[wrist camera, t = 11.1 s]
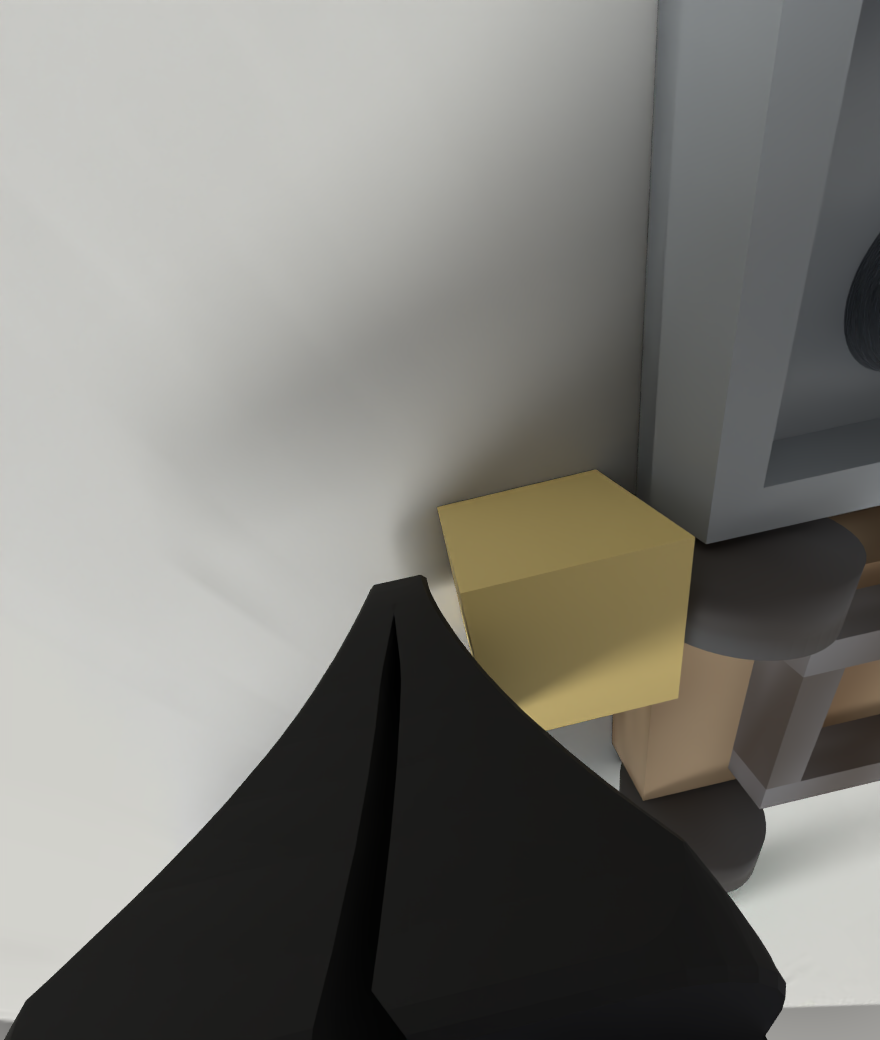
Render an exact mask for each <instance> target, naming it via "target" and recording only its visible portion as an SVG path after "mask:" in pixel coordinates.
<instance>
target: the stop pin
mask: <svg viewBox="0 0 880 1040" xmlns="http://www.w3.org/2000/svg"><path fill="white" fill-rule="evenodd" d="M844 334H845V339H846V343H847V346H848V349H849V351H850V353H851V354H852V356H853V357H854V359H855V360H856V361H857V362H858V363H859V364H861V365H862V366H864V367H865V368H868V369H870V370H873V371H878V372H880V233H879V235H878V236H877V237H876V239H875V240H874V242H873V243H872V244H871V246H870V248H869V249H868V251H867V253H866V254H865V256H864V258H863V259H862V261H861V264H860V266H859V268H858V270H857V272H856V274H855V276H854V279H853V281H852V284H851V287H850V290H849V294H848V297H847V301H846V307H845V313H844Z"/></svg>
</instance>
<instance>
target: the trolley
mask: <svg viewBox="0 0 880 1040" xmlns="http://www.w3.org/2000/svg"><path fill="white" fill-rule="evenodd" d="M650 507H651V506H650ZM653 509H654V508H653ZM656 511H657V510H656ZM672 522H673V521H672ZM675 524H676V523H675ZM678 526H679V525H678ZM612 744H613V746H614V748H615V749H616V751H617V753H618V755H619V757H620V759H621V761H622V764H621V769H620V789H619V792H621V793H622V794H623V795H625V796H626V797H627V798H629V799H630V800H631V801H632V802H634V803H635V804H636V805H638V806H639V807H640V808H642V809H643V810H645V811H646V812H647V813H649V814H650V815H651V816H653V817H654V818H656V819H657V820H658V821H660V822H661V823H663V824H664V825H665V826H667V827H668V828H669V829H671V830H672V831H674V832H675V833H676V834H678V835H679V836H680V837H681V838H683V839H684V840H685V841H686V842H687V844H688V845H689V846H690V847H691V848H692V850H693V851H694V852H695V853H696V854H697V856H698V857H699V858H700V859H701V860H702V862H703V863H704V864H705V865H706V867H707V868H708V869H709V870H710V872H711V873H712V874H713V875H714V877H715V878H716V879H717V880H718V882H719V883H720V884H721V886H722V887H723V888H724V890H725V891H726V892H730V891H733V890H736V889H737V888H739V887H741V886H742V885H743V884H744V883H745V882H746V881H747V880H748V879H749V877H750V876H751V874H752V872H753V870H754V867H755V864H756V862H757V859H758V856H759V853H760V851H761V848H762V845H763V842H764V840H765V834H766V821H765V815H764V811H763V808H767V807H771V806H775V805H779V804H784V803H788V802H792V801H796V800H800V799H804V798H809V797H813V796H817V795H821V794H825V793H830V792H834V791H838V790H842V789H846V788H850V787H855V786H859V785H863V784H867V783H871V782H876V781H880V506H877V507H872V508H868V509H863V510H859V511H854V512H850V513H846V514H841V515H837V516H832V517H828V518H827V517H825V518H821V519H817V520H812V521H808V522H803V523H799V524H794V525H790V526H785V527H781V528H776V529H772V530H767V531H763V532H759V533H754V534H750V535H745V536H741V537H736V538H732V539H727V540H723V541H718V542H714V543H710V544H705V543H703V542H702V541H701V540H699V539H698V538H696V537H695V544H694V553H693V562H692V572H691V581H690V591H689V600H688V609H687V619H686V628H685V638H684V647H683V657H682V666H681V675H680V685H679V694H678V698H677V699H673V700H669V701H665V702H661V703H657V704H653V705H649V706H645V707H641V708H637V709H632V710H628V711H624V712H620V713H616V714H613V723H612Z"/></svg>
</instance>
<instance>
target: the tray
mask: <svg viewBox="0 0 880 1040" xmlns="http://www.w3.org/2000/svg"><path fill="white" fill-rule="evenodd" d="M879 233H880V0H658V20H657V42H656V64H655V87H654V109H653V131H652V153H651V176H650V198H649V220H648V242H647V265H646V287H645V309H644V332H643V354H642V376H641V398H640V421H639V443H638V465H637V487H636V497H638V498H639V499H640V500H642V501H643V502H645V503H646V504H648V505H649V506H651V507H652V508H654V509H655V510H657V511H658V512H659V513H661V514H662V515H664V516H665V517H667V518H668V519H670V520H671V521H673V522H674V523H676V524H677V525H679V526H680V527H681V528H683V529H684V530H686V531H687V532H689V533H690V534H692V535H693V536H695V537H696V538H698V539H699V540H701V541H702V542H703V543H705V544H710V543H714V542H718V541H723V540H727V539H732V538H736V537H741V536H745V535H750V534H754V533H759V532H763V531H767V530H772V529H776V528H781V527H785V526H790V525H794V524H799V523H803V522H808V521H812V520H817V519H821V518H825V517H830V516H834V515H839V514H843V513H848V512H852V511H857V510H861V509H866V508H870V507H875V506H879V505H880V372H878V371H873V370H870V369H868V368H865V367H864V366H862V365H861V364H859V363H858V362H857V361H856V360H855V359H854V357H853V356H852V354H851V353H850V351H849V349H848V346H847V343H846V339H845V334H844V313H845V307H846V301H847V297H848V294H849V290H850V287H851V284H852V281H853V279H854V276H855V274H856V272H857V270H858V268H859V266H860V264H861V261H862V259H863V258H864V256H865V254H866V253H867V251H868V249H869V248H870V246H871V244H872V243H873V242H874V240H875V239H876V237H877V236H878V235H879Z"/></svg>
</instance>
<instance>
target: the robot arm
mask: <svg viewBox="0 0 880 1040" xmlns="http://www.w3.org/2000/svg"><path fill="white" fill-rule="evenodd" d="M785 994H786V982H785V981H784V979H783V977H782V976H781V974H780V973H779V971H778V970H777V968H776V966H775V964H774V962H773V960H772V958H771V956H770V954H769V953H768V951H767V949H766V948H765V946H764V945H763V943H762V941H761V940H760V938H759V937H758V935H757V934H756V933H755V931H754V930H753V928H752V927H751V925H750V924H749V923H748V921H747V920H746V918H745V917H744V916H743V914H742V913H741V911H740V910H739V908H738V907H737V906H736V904H735V903H734V902H733V900H732V899H731V898H730V896H729V895H728V894H727V892H726V891H725V890H724V888H723V887H722V886H721V884H720V883H719V882H718V880H717V879H716V878H715V877H714V875H713V874H712V873H711V872H710V870H709V869H708V868H707V867H706V865H705V864H704V863H703V862H702V860H701V859H700V858H699V857H698V856H697V854H696V853H695V852H694V851H693V850H692V848H691V847H690V846H689V845H688V844H687V842H686V841H685V840H684V839H683V838H681V837H680V836H679V835H678V834H676V833H675V832H674V831H672V830H671V829H669V828H668V827H667V826H665V825H664V824H663V823H661V822H660V821H658V820H657V819H656V818H654V817H653V816H651V815H650V814H649V813H647V812H646V811H645V810H643V809H642V808H640V807H639V806H638V805H636V804H635V803H634V802H632V801H631V800H630V799H629V798H627V797H626V796H625V795H623V794H622V793H621V792H619V791H618V790H617V789H615V788H614V787H613V786H611V785H610V784H609V783H607V782H606V781H605V780H604V779H602V778H601V777H600V776H599V775H597V774H596V773H595V772H594V771H592V770H591V769H590V768H589V767H588V766H586V765H585V764H584V763H583V762H581V761H580V760H579V759H578V758H576V757H575V756H574V755H573V754H571V753H570V752H569V751H568V750H567V749H566V748H565V747H563V746H562V745H561V744H560V743H559V742H558V741H557V740H555V739H554V738H553V737H552V736H551V735H550V734H549V733H548V732H546V731H545V730H544V729H543V728H542V727H541V726H540V725H539V724H537V723H536V722H535V721H534V720H533V719H532V718H531V717H530V716H528V715H527V714H526V713H525V712H524V711H523V710H522V709H521V708H520V707H519V706H518V705H517V704H516V703H515V702H514V701H513V700H512V699H511V698H510V697H509V696H508V695H507V694H506V693H505V692H504V691H503V690H502V689H501V688H500V687H499V686H498V685H497V683H496V682H495V681H494V680H493V679H492V678H491V677H490V676H489V675H488V674H487V673H486V671H485V670H484V669H483V668H482V667H481V666H480V665H479V663H478V662H477V661H476V660H475V659H474V657H473V656H472V655H471V654H470V652H469V651H468V650H467V649H466V647H465V646H464V645H463V643H462V642H461V641H460V639H459V638H458V637H457V635H456V634H455V633H454V631H453V630H452V628H451V627H450V625H449V624H448V622H447V621H446V619H445V618H444V616H443V615H442V613H441V611H440V610H439V608H438V606H437V604H436V602H435V600H434V599H433V597H432V594H431V592H430V590H429V587H428V582H427V578H426V577H424V576H422V575H417V576H413V577H408V578H404V579H399V580H395V581H390V582H386V583H381V584H377V585H374V586H373V587H372V589H371V590H370V592H369V594H368V596H367V598H366V600H365V602H364V604H363V606H362V608H361V610H360V612H359V614H358V616H357V618H356V620H355V622H354V624H353V626H352V628H351V630H350V632H349V633H348V635H347V637H346V639H345V641H344V642H343V644H342V646H341V648H340V649H339V651H338V653H337V655H336V656H335V658H334V660H333V661H332V663H331V665H330V666H329V668H328V669H327V671H326V673H325V674H324V676H323V677H322V679H321V680H320V682H319V684H318V685H317V687H316V688H315V690H314V691H313V693H312V694H311V696H310V697H309V699H308V700H307V702H306V703H305V705H304V706H303V708H302V709H301V710H300V712H299V713H298V715H297V716H296V717H295V719H294V720H293V721H292V723H291V724H290V725H289V727H288V728H287V729H286V731H285V732H284V734H283V735H282V736H281V738H280V739H279V740H278V741H277V743H276V744H275V745H274V746H273V748H272V749H271V750H270V751H269V753H268V754H267V755H266V756H265V757H264V759H263V760H262V761H261V762H260V763H259V765H258V766H257V767H256V768H255V769H254V770H253V772H252V773H251V774H250V775H249V776H248V778H247V779H246V780H245V781H244V782H243V783H242V785H241V786H240V787H239V788H238V789H237V790H236V792H235V793H234V794H233V795H232V796H231V798H230V799H229V800H228V801H227V802H226V803H225V804H224V805H223V807H222V808H221V809H220V810H219V811H218V812H217V813H216V814H215V815H214V816H213V817H212V819H211V820H210V821H209V822H208V823H207V824H206V825H205V826H204V827H203V828H202V829H201V830H200V831H199V833H198V834H197V835H196V836H195V837H194V838H193V839H192V840H191V841H190V842H189V843H188V844H187V845H186V846H185V847H184V848H183V849H182V850H181V851H180V852H179V853H178V855H177V856H176V857H175V858H174V859H173V860H172V861H171V862H170V863H169V864H168V865H167V866H166V867H165V868H164V869H163V870H162V871H161V872H160V873H159V874H158V875H157V876H156V877H155V878H154V879H153V880H152V881H151V882H150V883H149V884H148V885H147V886H146V887H145V888H144V889H143V890H142V891H141V892H140V893H139V894H138V895H137V896H136V897H135V898H134V899H133V900H132V901H131V902H130V903H129V904H128V905H127V906H126V907H125V908H124V909H123V910H121V911H120V912H119V913H118V914H117V915H116V916H115V917H114V918H113V919H112V920H111V921H110V922H109V923H108V924H107V925H106V926H105V927H104V928H103V929H102V930H101V931H99V932H98V933H97V934H96V935H95V936H94V937H93V938H92V939H91V940H90V941H89V942H88V943H87V944H86V945H85V946H84V947H83V948H82V949H81V950H80V951H79V952H77V953H76V954H75V955H74V956H73V957H72V958H71V959H70V960H69V961H68V962H67V963H66V964H65V965H64V966H63V967H62V968H61V969H60V970H59V971H58V972H57V973H56V974H54V975H53V976H52V977H51V978H50V979H49V980H48V981H47V982H46V983H45V984H44V985H43V986H41V987H40V988H39V989H38V990H37V991H36V992H35V993H34V994H33V995H32V996H31V997H30V998H28V999H27V1000H26V1002H25V1003H24V1005H23V1007H22V1009H21V1010H20V1012H19V1014H18V1016H17V1017H16V1019H15V1021H14V1023H13V1024H12V1026H11V1028H10V1030H9V1032H8V1034H7V1036H6V1037H5V1039H4V1040H767V1038H766V1036H765V1035H766V1033H767V1032H768V1030H769V1029H770V1027H771V1026H772V1024H773V1023H774V1021H775V1020H776V1018H777V1016H778V1015H779V1013H780V1012H781V1010H782V1008H783V1004H784V1001H785Z"/></svg>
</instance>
